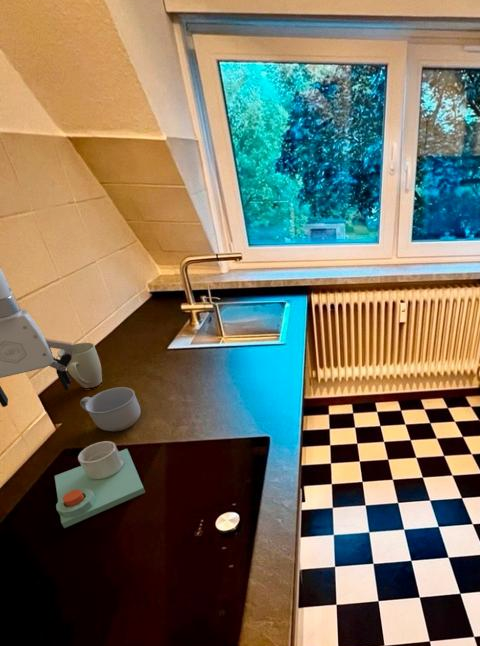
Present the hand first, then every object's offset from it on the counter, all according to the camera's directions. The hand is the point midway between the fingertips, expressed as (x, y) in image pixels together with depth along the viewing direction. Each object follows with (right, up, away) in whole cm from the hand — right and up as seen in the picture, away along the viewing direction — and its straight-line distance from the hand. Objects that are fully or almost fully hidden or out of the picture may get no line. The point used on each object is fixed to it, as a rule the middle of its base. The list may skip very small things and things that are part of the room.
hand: (37, 395), depth 74 cm
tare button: (+8, -20, -1) cm, 22 cm away
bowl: (+8, -16, +8) cm, 20 cm away
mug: (-18, +3, +42) cm, 45 cm away
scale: (+8, -19, +6) cm, 21 cm away
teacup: (-1, -7, +25) cm, 26 cm away
